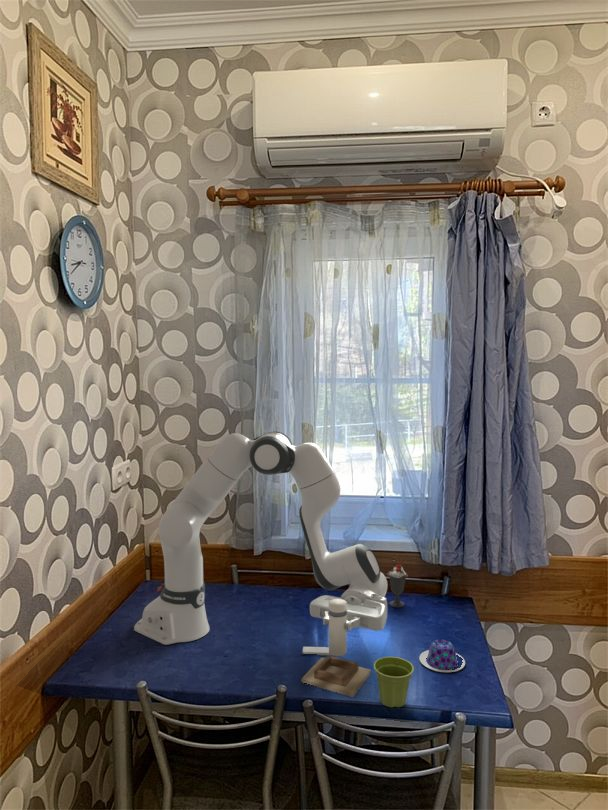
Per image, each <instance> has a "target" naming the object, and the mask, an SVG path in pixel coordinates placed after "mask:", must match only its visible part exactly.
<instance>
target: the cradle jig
mask: <svg viewBox="0 0 608 810" xmlns="http://www.w3.org/2000/svg"><path fill="white" fill-rule="evenodd" d="M371 670H372V669H369V668H366V667H362V666H359V662H356V661H353V660H348V659H344V658H340V657H338V656H333V655H326V657H323V656H321V657H320V658H319V659H318V660H317V661H316V662H315V664H314V665H313V666H312V667H310V669H309V670H307V672H306V673H305V674H304V676H303V677H302V678H301V680H300V681H301V682H303V683H302V684H304V683H307V684H306V685H308V684H310V685H309V686H311V685H314V686H313V687H315V686H317V687H316V688H318V687H320V689H322V688H323V690H326V689H327V690H326V691H329V690H330V692H334V693H336V692H337V694H340V695H345V696H348V697H351V698H354V697H355V695H356V694H357V693H358V691H359V690H360V689H361V687H362V686H363V685H364V683H365V682H366V680H367V679H368V677H369V676H370V675H371V673H372V671H371ZM301 682H300V683H301Z"/></svg>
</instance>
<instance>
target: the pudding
mask: <svg viewBox="0 0 608 810" xmlns="http://www.w3.org/2000/svg"><path fill="white" fill-rule="evenodd" d="M455 649H456V648H455V646H454V645H453V643H452V642H450V641H449V640H446V639H436V640H434V641H432V642H431V643H430V647H429V649H427V650H425V651H423V652H421V654H420V655H419V659H418V660H419V662H420V663H421V664H422V665H423V666H424V667H426V668H427V669H430V670H432V671H435V672H440V673H452V672H453V673H454V672H459V671H460V670H462V669H464V667H465V665H466V660H465V659H464V657H463V656H462V655H460V654H458V653H457V652H456V650H455ZM456 655H458V656H459V657H461V658H462V659H463V660H462V662H463V663H462V665H461V667H460V668H457V669H455V670H452V669H454V667H457V665H458V664H457V663H458V661H457V657H456ZM426 658H427V659H426ZM456 664H457V665H456ZM448 669H449V670H448Z"/></svg>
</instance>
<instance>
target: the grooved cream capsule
mask: <svg viewBox="0 0 608 810" xmlns="http://www.w3.org/2000/svg"><path fill="white" fill-rule="evenodd" d="M328 612H329V626H328V647H329V653H330V654H331V655H330V656H333V657H342V656H345V655H346V654H347V653H348V652H347V648H348V646H347V645H348V643H347V642H348V641H347V640H348V639H347V636H348V635H347V634H348V632H347V631H348V630H345V629H344V627H345V626H344V624H345V622H346V621H347V602H346V601H345V600H342V599H332V600H330V601H329V608H328Z"/></svg>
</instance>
